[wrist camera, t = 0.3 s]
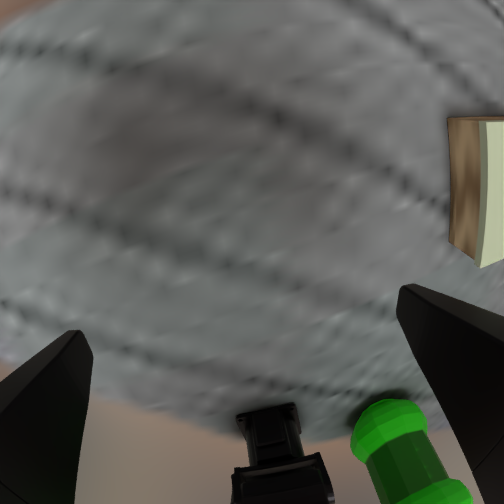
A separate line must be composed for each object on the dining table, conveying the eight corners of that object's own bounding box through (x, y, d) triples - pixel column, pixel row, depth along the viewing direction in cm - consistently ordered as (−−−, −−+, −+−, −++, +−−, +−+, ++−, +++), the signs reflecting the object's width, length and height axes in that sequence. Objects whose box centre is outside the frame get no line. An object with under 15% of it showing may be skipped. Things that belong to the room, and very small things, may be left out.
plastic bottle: (389, 430, 37) (450, 567, 15) (327, 436, 35) (380, 602, 12) (427, 383, 33) (513, 534, 11) (363, 386, 31) (449, 581, 9)
